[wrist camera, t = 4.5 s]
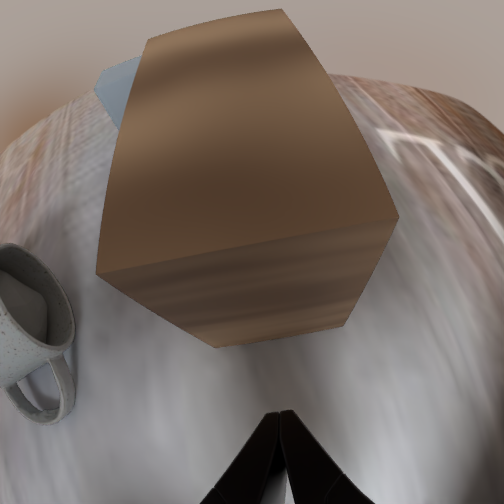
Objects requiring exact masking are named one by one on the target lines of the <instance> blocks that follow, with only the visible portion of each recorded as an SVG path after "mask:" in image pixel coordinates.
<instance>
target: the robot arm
mask: <svg viewBox="0 0 504 504" xmlns="http://www.w3.org/2000/svg"><path fill="white" fill-rule="evenodd" d="M287 474H288V478H289V482H290V486H291V490H292V494H293V498H294V502H295V504H375V503H374V502H373V501H371V500H370V499H369V498H368V497H367V496H366V495H365V494H363V493H362V492H361V491H360V490H359V489H358V488H357V487H356V486H355V485H354V483H353V482H352V481H351V480H350V479H349V478H348V477H347V476H346V474H343V471H342V470H341V469H340V468H339V467H338V465H337V464H336V463H335V462H334V461H333V459H332V458H331V457H330V456H329V454H328V453H327V452H326V451H325V450H324V448H323V447H322V446H321V445H320V443H319V442H318V441H317V440H316V439H315V437H314V436H313V435H312V434H311V432H310V431H309V430H308V428H307V427H306V426H305V425H304V423H303V422H302V421H301V420H300V418H299V417H298V416H297V414H296V413H295V412H294V411H293V410H286V411H281V412H280V413H279V412H272V413H266V414H265V416H264V417H263V419H262V420H261V422H260V423H259V425H258V426H257V428H256V429H255V431H254V432H253V433H252V435H251V436H250V438H249V439H248V441H247V442H246V444H245V445H244V446H243V448H242V449H241V451H240V452H239V453H238V455H237V456H236V458H235V459H234V460H233V462H232V463H231V464H230V466H229V467H228V469H227V470H226V471H225V473H224V474H223V475H222V477H221V478H220V479H219V481H218V482H217V483H216V484H215V486H214V488H212V489H211V490H210V492H209V493H208V494H207V495H206V497H205V498H204V499H203V500H202V501H201V502H200V504H285V493H286V481H287Z"/></svg>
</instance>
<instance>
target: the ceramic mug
mask: <svg viewBox="0 0 504 504" xmlns="http://www.w3.org/2000/svg"><path fill="white" fill-rule="evenodd" d="M74 335H75V322H74V317H73V312H72V309H71V306H70V303H69V301H68V298H67V297H66V294H65V292H64V290H63V288H62V287H61V286H60V284H59V282H58V281H57V279H56V278H55V276H54V275H53V273H52V272H51V271H50V269H49V268H48V267H47V266H46V265H45V264H44V263H43V262H42V261H41V260H40V259H39V258H37V257H36V256H35V255H34V254H33V253H31V252H30V251H29V250H27V249H25V248H23V247H21V246H18V245H16V244H12V243H6V244H1V245H0V387H1V388H3V389H4V391H5V392H6V394H7V396H8V398H9V399H10V401H11V402H12V404H13V405H14V407H15V408H16V409H17V410H18V411H19V412H20V413H21V414H22V415H23V416H24V417H25V418H27V419H28V420H30V421H32V422H34V423H36V424H39V425H51V424H54V423H57V422H59V421H60V420H62V419H63V418H64V417H65V416H66V415H68V414H69V413H70V412H71V410H72V408H73V406H74V401H75V386H74V382H73V379H72V376H71V373H70V371H69V368H68V365H67V363H66V361H65V359H64V356H63V352H64V351H65V350H66V349H68V348H69V347H70V345H71V344H72V342H73V339H74ZM46 363H49V364H50V366H51V368H52V371H53V374H54V377H55V380H56V382H57V385H58V389H59V393H60V405H59V406H60V407H59V408H57V409H54V410H46V409H45V410H43V411H40V410H38V409H37V408H35V407H34V406H33V405H32V404H31V403H30V402H29V401H28V400H27V399H26V397H25V396H24V394H23V393H22V391H21V390H20V388H19V387H18V385H17V381H20V380H21V379H23V378H24V377H25V376H26V375H27V374H29V373H31V372H32V371H34V370H36V369H37V368H39V367H41V366H43V365H44V364H46Z"/></svg>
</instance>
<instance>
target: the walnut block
mask: <svg viewBox="0 0 504 504" xmlns="http://www.w3.org/2000/svg"><path fill="white" fill-rule="evenodd" d="M398 219H399V215H398V212H397V210H396V207H395V205H394V203H393V200H392V198H391V195H390V193H389V191H388V189H387V186H386V184H385V182H384V180H383V177H382V175H381V173H380V171H379V169H378V167H377V164H376V162H375V160H374V158H373V156H372V154H371V152H370V150H369V148H368V146H367V144H366V142H365V140H364V138H363V136H362V134H361V132H360V130H359V128H358V127H357V125H356V123H355V121H354V119H353V117H352V116H351V114H350V112H349V110H348V108H347V107H346V105H345V103H344V101H343V100H342V98H341V96H340V94H339V93H338V91H337V89H336V88H335V86H334V84H333V83H332V81H331V79H330V78H329V76H328V75H327V73H326V71H325V70H324V68H323V67H322V65H321V64H320V62H319V61H318V59H317V58H316V56H315V55H314V53H313V51H312V50H311V48H310V47H309V45H308V44H307V43H306V41H305V40H304V38H303V37H302V35H301V34H300V33H299V31H298V30H297V28H296V27H295V26H294V24H293V23H292V22H291V20H290V19H289V18H288V16H287V15H286V14H285V12H284V11H283V10H282V9H276V10H267V11H260V12H254V13H248V14H242V15H237V16H232V17H227V18H222V19H217V20H213V21H209V22H205V23H201V24H197V25H193V26H189V27H186V28H182V29H179V30H175V31H172V32H169V33H165V34H162V35H159V36H156V37H153V38H151V39H148V41H147V43H146V46H145V49H144V51H143V54H142V57H141V60H140V63H139V65H138V68H137V71H136V74H135V78H134V81H133V84H132V87H131V90H130V94H129V97H128V100H127V104H126V107H125V111H124V115H123V118H122V122H121V126H120V130H119V134H118V138H117V142H116V147H115V151H114V155H113V160H112V165H111V170H110V175H109V180H108V185H107V191H106V197H105V203H104V209H103V215H102V222H101V230H100V238H99V246H98V255H97V266H96V275H97V276H99V277H100V278H102V279H103V280H105V281H106V282H108V283H109V284H110V285H112V286H113V287H115V288H116V289H118V290H119V291H121V292H122V293H124V294H126V295H127V296H129V297H130V298H132V299H133V300H135V301H136V302H138V303H140V304H141V305H143V306H144V307H146V308H147V309H149V310H151V311H152V312H154V313H156V314H157V315H159V316H160V317H162V318H164V319H165V320H167V321H169V322H170V323H172V324H174V325H175V326H177V327H179V328H181V329H182V330H184V331H186V332H187V333H189V334H191V335H193V336H194V337H196V338H198V339H200V340H202V341H203V342H205V343H207V344H209V345H211V346H212V347H214V348H219V347H227V346H234V345H241V344H248V343H255V342H261V341H267V340H273V339H279V338H285V337H291V336H296V335H301V334H307V333H312V332H317V331H322V330H327V329H332V328H337V327H341V326H343V325H344V324H345V322H346V320H347V319H348V317H349V315H350V313H351V311H352V310H353V308H354V306H355V304H356V303H357V301H358V299H359V297H360V295H361V293H362V292H363V290H364V288H365V286H366V284H367V282H368V280H369V278H370V276H371V274H372V273H373V271H374V269H375V267H376V265H377V263H378V261H379V259H380V257H381V255H382V253H383V251H384V249H385V247H386V244H387V242H388V240H389V238H390V236H391V234H392V232H393V230H394V227H395V225H396V223H397V221H398Z"/></svg>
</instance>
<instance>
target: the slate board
mask: <svg viewBox="0 0 504 504" xmlns="http://www.w3.org/2000/svg"><path fill="white" fill-rule="evenodd" d="M141 57H142V55H141V56H139V57H136V58H133V59H131V60H128V61H125V62H123V63H121V64H118V65H115V66H113V67H110V68H108V69H106V70H104V71H102V73H101V75H100V77H99V79H98V81H97V83H96V86H95V88H94V91H95V93H96V94H97V96H98V98H99V99H100V101H101V103H102V104H103V106H104V108H105V109H106V111H107V113H108V114H109V116H110V117H111V119H112V121H113V122H114V124H115V126H116V127H117V129H118V130H120V126H121V122H122V118H123V115H124V111H125V107H126V104H127V100H128V97H129V94H130V90H131V87H132V84H133V81H134V78H135V74H136V71H137V68H138V65H139V63H140V60H141Z"/></svg>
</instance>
